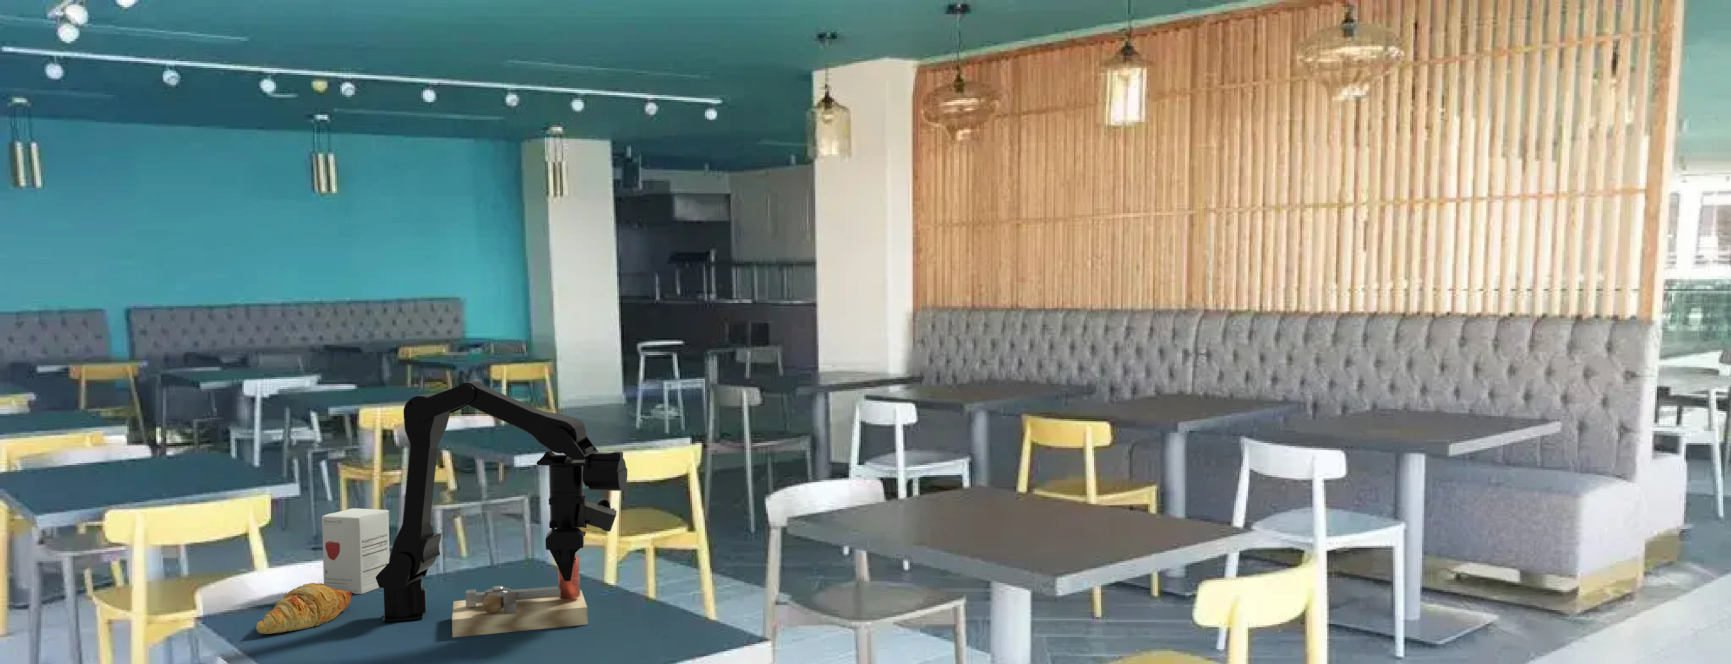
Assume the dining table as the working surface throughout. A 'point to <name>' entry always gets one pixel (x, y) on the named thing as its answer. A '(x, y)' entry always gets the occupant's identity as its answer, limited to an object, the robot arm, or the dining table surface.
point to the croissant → (305, 608)
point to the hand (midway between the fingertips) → (568, 577)
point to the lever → (533, 589)
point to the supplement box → (355, 548)
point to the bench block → (518, 615)
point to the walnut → (492, 603)
